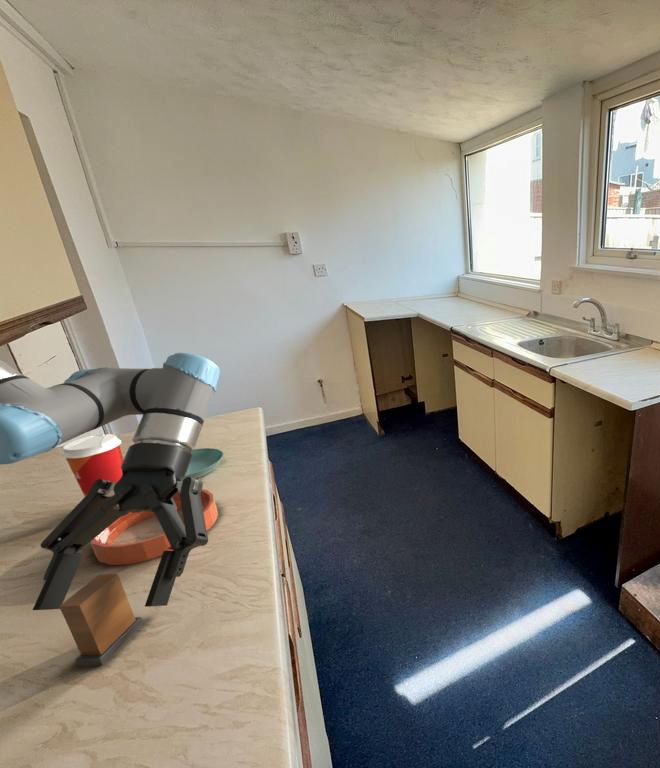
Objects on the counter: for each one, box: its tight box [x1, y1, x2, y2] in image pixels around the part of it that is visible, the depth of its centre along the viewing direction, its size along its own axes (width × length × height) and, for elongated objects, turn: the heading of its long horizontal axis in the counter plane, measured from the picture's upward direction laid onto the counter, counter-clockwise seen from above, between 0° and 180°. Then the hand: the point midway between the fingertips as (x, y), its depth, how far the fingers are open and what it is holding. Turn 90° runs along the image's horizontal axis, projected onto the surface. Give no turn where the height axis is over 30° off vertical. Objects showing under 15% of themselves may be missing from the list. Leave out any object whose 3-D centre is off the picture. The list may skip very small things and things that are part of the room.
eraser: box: [59, 573, 144, 667], centre depth 51 cm, size 6×3×10 cm, turn 2°
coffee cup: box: [61, 433, 124, 506], centre depth 80 cm, size 8×8×15 cm
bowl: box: [89, 488, 219, 566], centre depth 73 cm, size 17×17×4 cm
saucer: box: [181, 447, 224, 481], centre depth 95 cm, size 15×15×3 cm
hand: (101, 608), depth 51 cm, fingers open, 13 cm apart
